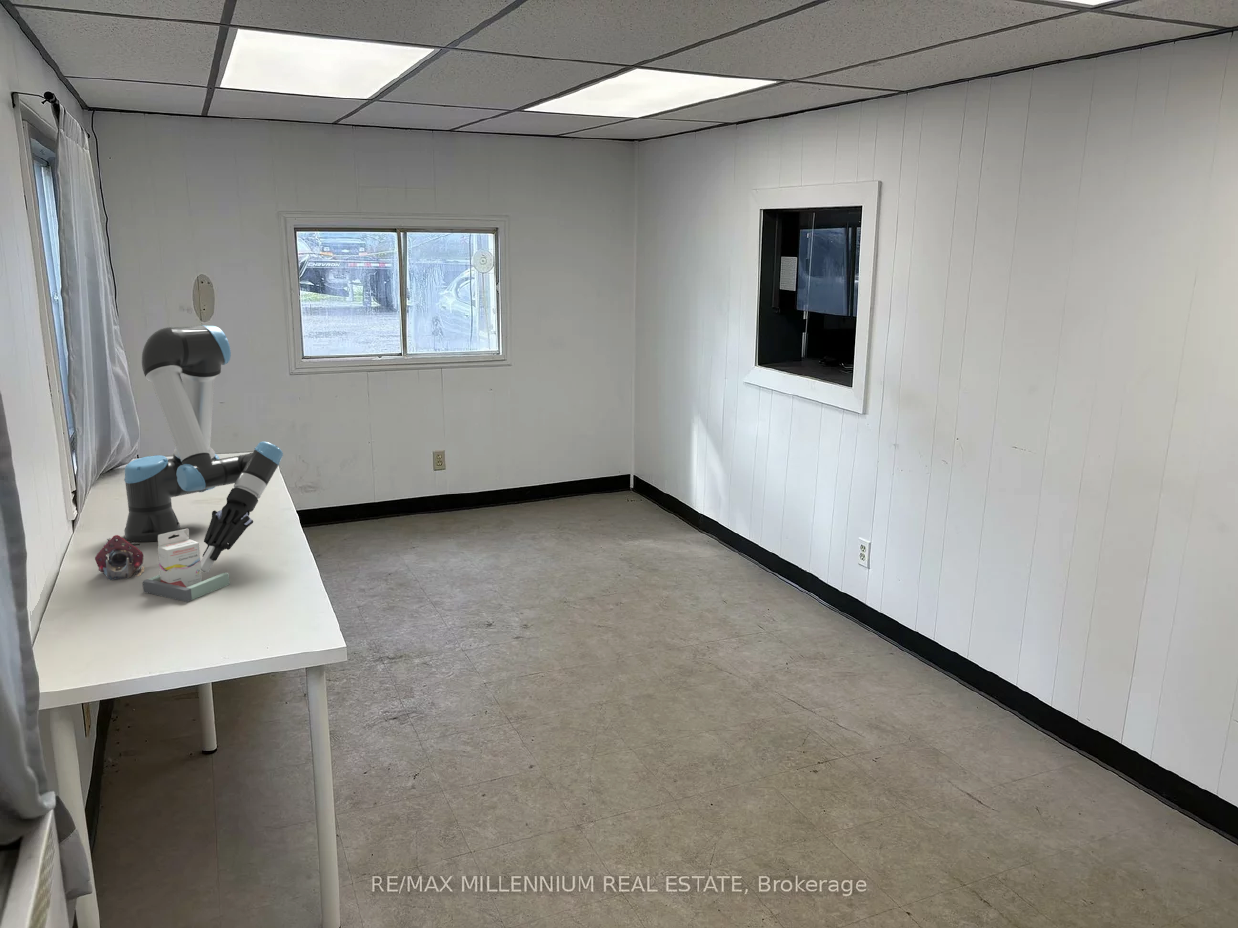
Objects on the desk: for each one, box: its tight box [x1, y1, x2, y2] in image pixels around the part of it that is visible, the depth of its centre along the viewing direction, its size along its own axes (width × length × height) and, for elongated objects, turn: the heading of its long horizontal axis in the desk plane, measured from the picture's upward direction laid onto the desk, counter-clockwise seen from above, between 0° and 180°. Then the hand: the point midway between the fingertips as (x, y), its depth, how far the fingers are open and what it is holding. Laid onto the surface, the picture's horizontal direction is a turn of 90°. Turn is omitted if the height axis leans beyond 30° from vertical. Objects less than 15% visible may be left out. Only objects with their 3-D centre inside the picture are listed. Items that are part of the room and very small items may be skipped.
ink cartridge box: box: [157, 528, 203, 588], centre depth 231 cm, size 9×5×15 cm, turn 143°
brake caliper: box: [94, 534, 145, 581], centre depth 241 cm, size 11×11×12 cm
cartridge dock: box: [142, 572, 230, 603], centre depth 232 cm, size 15×14×3 cm
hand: (202, 570), depth 236 cm, fingers closed
